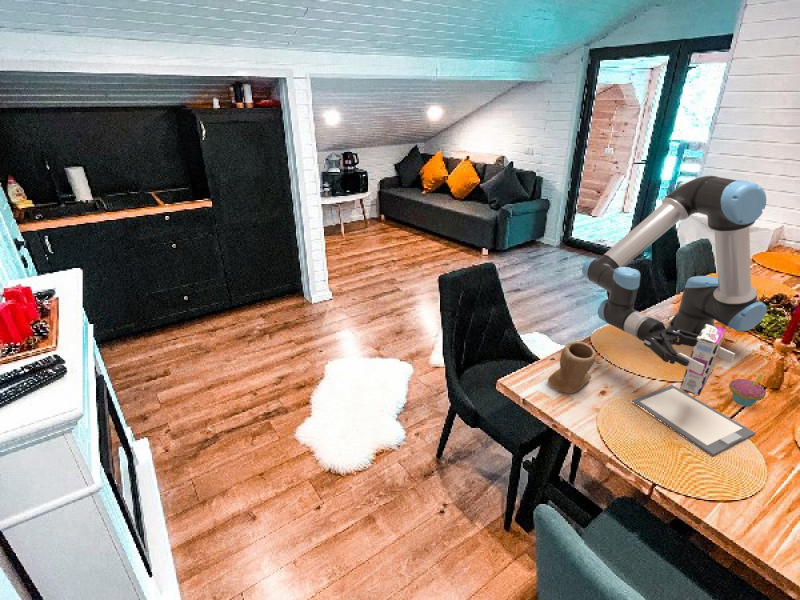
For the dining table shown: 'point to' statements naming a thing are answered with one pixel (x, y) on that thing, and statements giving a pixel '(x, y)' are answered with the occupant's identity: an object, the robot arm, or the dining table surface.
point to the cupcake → (747, 391)
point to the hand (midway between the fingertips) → (718, 363)
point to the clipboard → (694, 419)
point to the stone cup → (573, 367)
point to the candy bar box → (703, 358)
